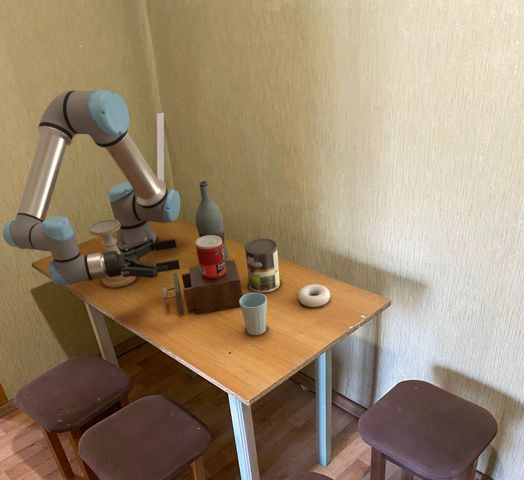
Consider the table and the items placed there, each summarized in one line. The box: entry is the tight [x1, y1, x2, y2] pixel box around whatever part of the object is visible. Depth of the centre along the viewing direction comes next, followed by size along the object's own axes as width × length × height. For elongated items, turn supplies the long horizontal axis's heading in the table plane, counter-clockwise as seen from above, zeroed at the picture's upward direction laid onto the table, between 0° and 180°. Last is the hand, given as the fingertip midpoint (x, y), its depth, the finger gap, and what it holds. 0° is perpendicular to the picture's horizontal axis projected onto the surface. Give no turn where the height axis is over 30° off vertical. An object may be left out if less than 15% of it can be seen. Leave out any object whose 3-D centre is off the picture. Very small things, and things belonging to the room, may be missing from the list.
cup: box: [239, 292, 268, 336], centre depth 151 cm, size 8×8×10 cm
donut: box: [297, 283, 331, 308], centre depth 163 cm, size 10×4×10 cm
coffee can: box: [244, 238, 281, 294], centre depth 169 cm, size 10×10×14 cm
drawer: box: [162, 272, 196, 314], centre depth 165 cm, size 18×11×8 cm, turn 100°
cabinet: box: [188, 259, 243, 315], centre depth 166 cm, size 15×13×10 cm
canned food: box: [195, 235, 226, 279], centre depth 159 cm, size 8×8×11 cm
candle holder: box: [88, 218, 138, 289], centre depth 178 cm, size 12×12×20 cm
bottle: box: [194, 180, 229, 261], centre depth 177 cm, size 9×9×30 cm
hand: (177, 253), depth 157 cm, fingers open, 13 cm apart
